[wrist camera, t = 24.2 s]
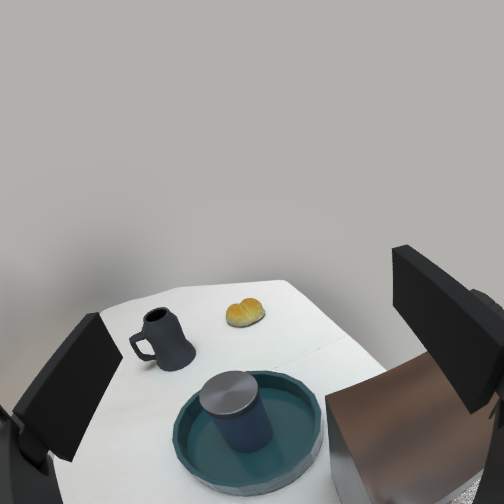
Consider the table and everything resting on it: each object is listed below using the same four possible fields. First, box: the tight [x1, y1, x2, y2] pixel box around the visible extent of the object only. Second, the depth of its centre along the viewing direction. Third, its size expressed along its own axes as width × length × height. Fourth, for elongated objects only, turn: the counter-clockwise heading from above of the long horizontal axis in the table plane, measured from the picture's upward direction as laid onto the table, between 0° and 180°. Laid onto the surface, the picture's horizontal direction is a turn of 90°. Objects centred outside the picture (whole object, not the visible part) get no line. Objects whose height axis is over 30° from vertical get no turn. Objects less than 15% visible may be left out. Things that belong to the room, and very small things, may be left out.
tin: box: [199, 371, 273, 453], centre depth 31 cm, size 7×7×10 cm
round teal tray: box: [172, 371, 323, 496], centre depth 33 cm, size 21×21×4 cm
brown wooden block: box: [325, 351, 499, 504], centre depth 16 cm, size 12×12×18 cm
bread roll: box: [226, 298, 265, 327], centre depth 64 cm, size 8×9×4 cm
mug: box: [129, 307, 196, 371], centre depth 53 cm, size 12×9×11 cm
